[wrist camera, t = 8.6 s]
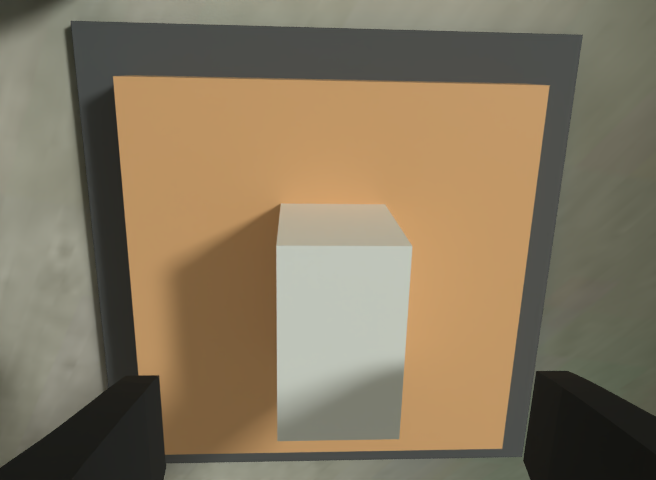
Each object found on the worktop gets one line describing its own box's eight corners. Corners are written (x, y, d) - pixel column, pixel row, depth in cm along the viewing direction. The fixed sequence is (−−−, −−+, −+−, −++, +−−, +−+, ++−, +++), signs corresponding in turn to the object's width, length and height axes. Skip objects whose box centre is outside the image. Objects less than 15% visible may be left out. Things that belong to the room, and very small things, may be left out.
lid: (158, 421, 20) (105, 557, 15) (131, 75, 17) (49, 79, 11) (484, 417, 21) (553, 544, 15) (524, 83, 17) (632, 91, 12)
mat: (119, 456, 21) (116, 464, 20) (76, 21, 16) (70, 21, 16) (518, 450, 22) (521, 456, 21) (576, 35, 17) (582, 34, 17)
